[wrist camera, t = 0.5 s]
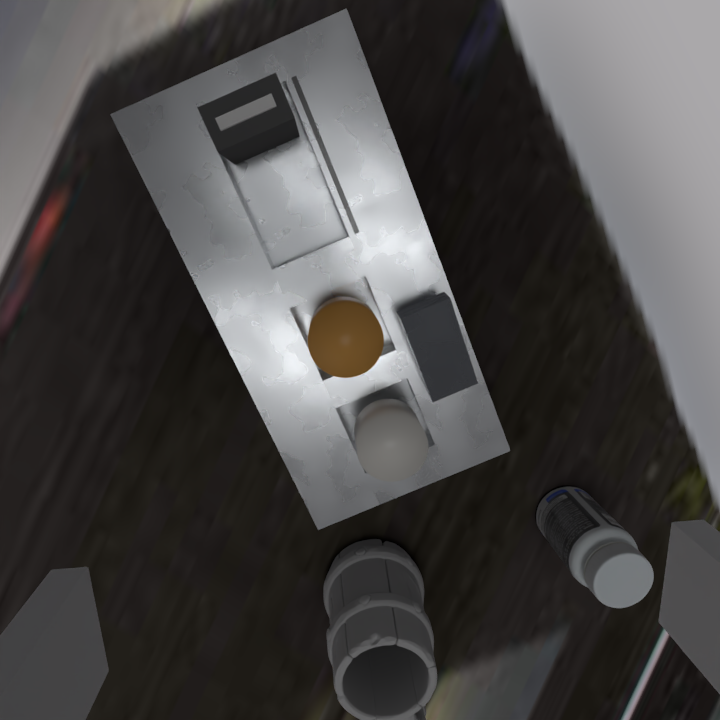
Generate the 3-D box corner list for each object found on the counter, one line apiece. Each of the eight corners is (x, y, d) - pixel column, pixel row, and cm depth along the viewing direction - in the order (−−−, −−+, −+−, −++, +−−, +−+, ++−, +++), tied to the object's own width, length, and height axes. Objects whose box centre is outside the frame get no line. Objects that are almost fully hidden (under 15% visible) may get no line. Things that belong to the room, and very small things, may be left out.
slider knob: (218, 127, 30) (196, 106, 25) (284, 98, 30) (275, 71, 25) (235, 164, 31) (216, 151, 26) (299, 136, 31) (294, 117, 26)
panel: (136, 128, 32) (105, 112, 28) (343, 35, 32) (347, 3, 27) (318, 500, 39) (318, 534, 35) (491, 428, 39) (513, 454, 34)
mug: (400, 520, 40) (431, 638, 28) (448, 638, 43) (495, 789, 31) (308, 555, 40) (301, 687, 29) (362, 670, 43) (376, 832, 32)
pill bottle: (534, 542, 41) (586, 618, 33) (534, 488, 40) (587, 553, 32) (592, 535, 41) (658, 609, 33) (594, 481, 40) (662, 544, 32)
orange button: (297, 313, 31) (295, 321, 28) (362, 285, 31) (366, 291, 28) (326, 374, 32) (326, 389, 29) (388, 348, 32) (395, 360, 29)
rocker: (396, 311, 30) (400, 318, 29) (443, 291, 30) (450, 297, 29) (427, 393, 33) (432, 402, 32) (471, 374, 33) (478, 383, 32)
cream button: (343, 414, 33) (345, 431, 30) (405, 388, 33) (413, 403, 30) (369, 469, 34) (373, 492, 31) (428, 445, 34) (438, 465, 31)
